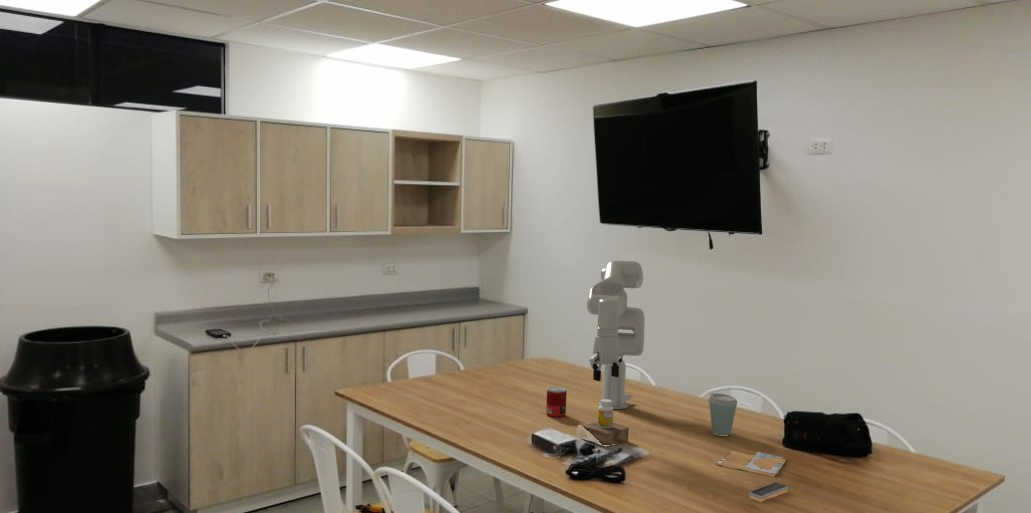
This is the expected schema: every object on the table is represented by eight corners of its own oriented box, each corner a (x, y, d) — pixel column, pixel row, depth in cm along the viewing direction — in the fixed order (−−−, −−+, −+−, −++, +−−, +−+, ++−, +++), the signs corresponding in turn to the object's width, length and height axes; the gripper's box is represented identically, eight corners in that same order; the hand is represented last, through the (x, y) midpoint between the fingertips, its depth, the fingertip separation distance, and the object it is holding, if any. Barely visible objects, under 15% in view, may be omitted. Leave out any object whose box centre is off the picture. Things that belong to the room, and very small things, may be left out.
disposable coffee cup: (736, 432, 300) (738, 394, 298) (734, 440, 289) (736, 400, 288) (708, 429, 303) (710, 391, 302) (705, 437, 293) (707, 397, 292)
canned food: (564, 418, 312) (565, 391, 311) (544, 417, 314) (545, 390, 313) (567, 413, 320) (567, 387, 319) (547, 412, 321) (548, 385, 320)
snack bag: (775, 479, 252) (775, 473, 252) (713, 466, 262) (713, 460, 262) (788, 463, 268) (789, 456, 268) (730, 451, 278) (730, 445, 278)
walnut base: (603, 433, 294) (604, 420, 294) (628, 441, 285) (628, 427, 285) (581, 439, 286) (581, 425, 286) (605, 447, 277) (606, 433, 277)
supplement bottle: (596, 424, 288) (597, 398, 288) (611, 424, 289) (611, 398, 288) (599, 428, 283) (599, 402, 282) (613, 428, 283) (614, 402, 283)
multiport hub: (747, 499, 234) (748, 491, 234) (775, 489, 243) (775, 481, 243) (760, 504, 230) (761, 496, 230) (788, 493, 240) (788, 486, 239)
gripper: (615, 328, 293) (614, 373, 295) (583, 333, 282) (582, 379, 284) (631, 331, 288) (629, 377, 289) (599, 336, 276) (597, 384, 278)
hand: (606, 378), depth 286 cm, fingers open, 9 cm apart
